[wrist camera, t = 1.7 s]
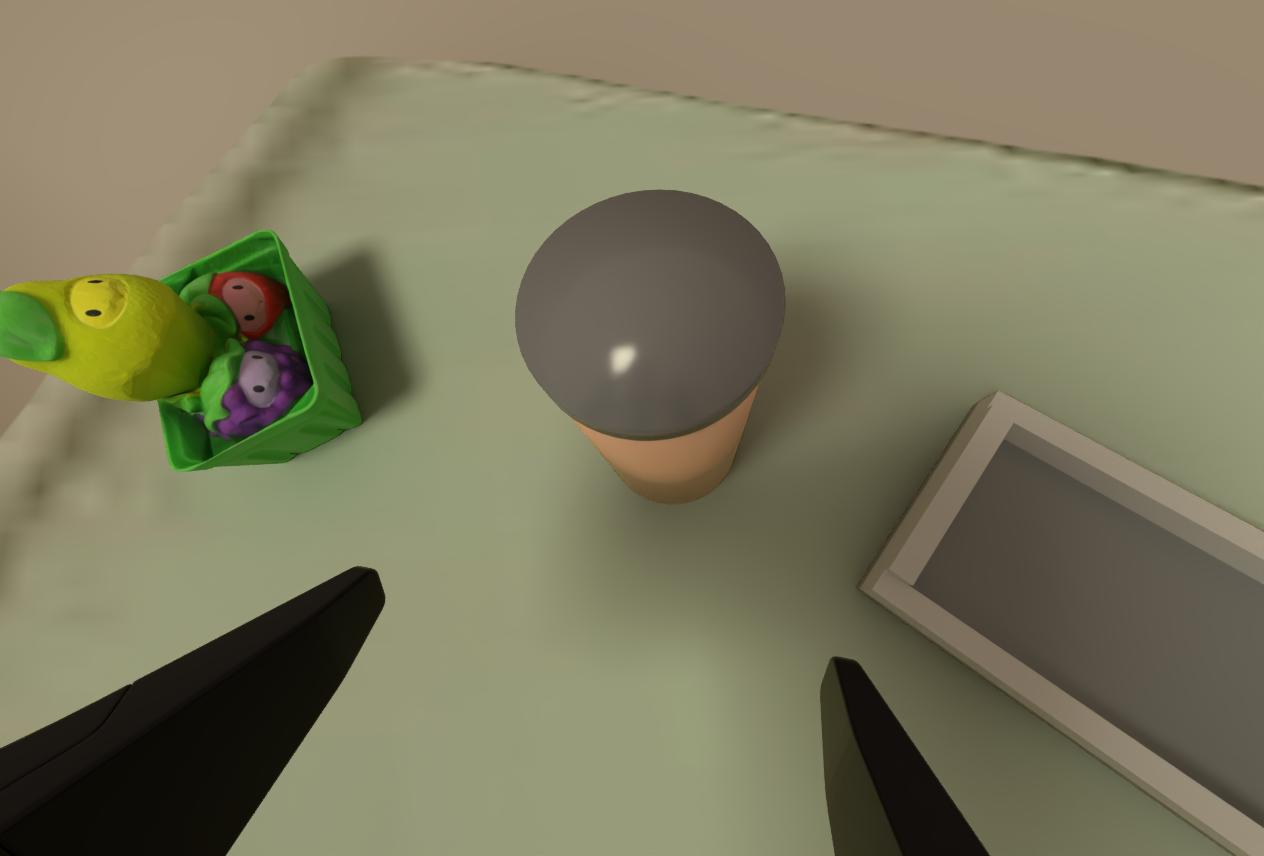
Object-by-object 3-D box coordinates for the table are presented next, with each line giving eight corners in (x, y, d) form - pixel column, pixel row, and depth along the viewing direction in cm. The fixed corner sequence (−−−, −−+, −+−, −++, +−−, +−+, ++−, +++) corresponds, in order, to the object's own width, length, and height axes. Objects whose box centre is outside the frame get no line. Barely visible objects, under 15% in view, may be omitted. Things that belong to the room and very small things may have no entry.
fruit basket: (391, 432, 26) (179, 335, 15) (246, 505, 26) (-71, 458, 15) (341, 279, 30) (142, 115, 19) (214, 343, 30) (-60, 212, 19)
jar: (757, 483, 23) (830, 377, 10) (626, 523, 23) (545, 465, 11) (713, 364, 25) (730, 158, 12) (593, 401, 25) (494, 236, 13)
